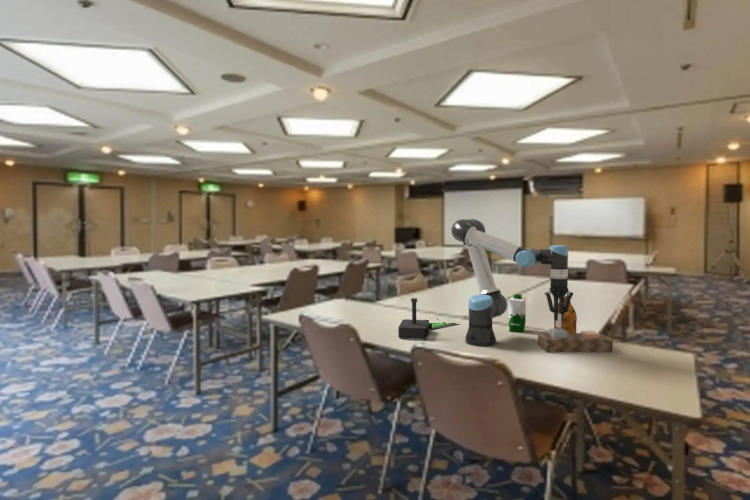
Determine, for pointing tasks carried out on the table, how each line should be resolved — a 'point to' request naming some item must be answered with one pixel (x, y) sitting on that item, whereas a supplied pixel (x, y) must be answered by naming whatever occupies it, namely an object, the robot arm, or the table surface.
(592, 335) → the terracotta key
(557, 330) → the slate key
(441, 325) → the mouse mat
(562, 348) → the brown woven basket
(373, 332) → the table surface
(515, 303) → the milk carton
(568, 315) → the coffee package
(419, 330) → the black joystick
